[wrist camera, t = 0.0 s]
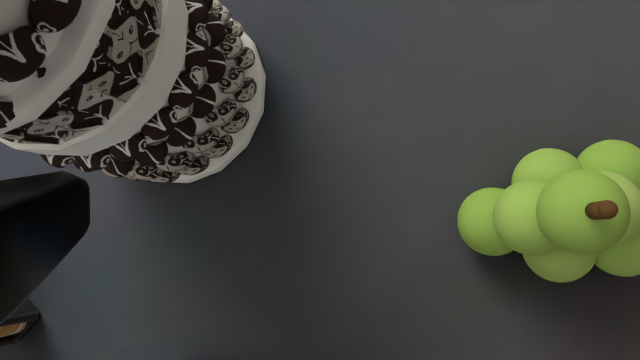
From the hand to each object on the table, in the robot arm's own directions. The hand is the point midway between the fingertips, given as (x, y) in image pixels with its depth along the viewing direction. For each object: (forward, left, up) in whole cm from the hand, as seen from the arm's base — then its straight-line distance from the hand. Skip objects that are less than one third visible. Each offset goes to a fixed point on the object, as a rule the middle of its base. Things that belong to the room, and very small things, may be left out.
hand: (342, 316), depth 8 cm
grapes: (+1, -6, -15) cm, 16 cm away
